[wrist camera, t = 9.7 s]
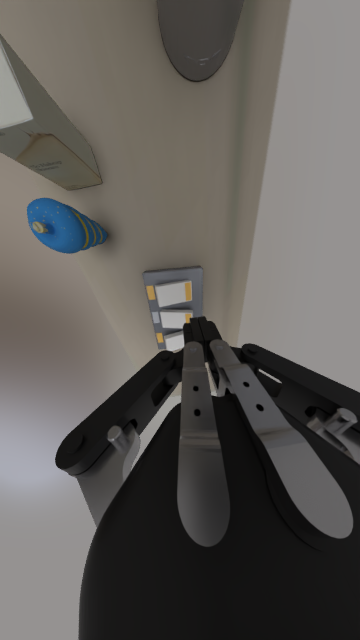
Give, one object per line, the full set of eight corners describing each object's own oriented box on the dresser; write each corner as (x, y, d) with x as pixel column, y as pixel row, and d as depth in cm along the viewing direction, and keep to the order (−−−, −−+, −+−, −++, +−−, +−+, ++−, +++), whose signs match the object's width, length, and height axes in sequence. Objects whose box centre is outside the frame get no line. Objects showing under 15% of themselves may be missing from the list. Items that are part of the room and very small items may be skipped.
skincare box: (68, 191, 22) (-34, 139, 11) (51, 151, 19) (-97, 38, 9) (104, 183, 21) (34, 121, 11) (90, 142, 19) (-14, 13, 9)
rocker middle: (162, 309, 29) (159, 312, 28) (192, 309, 28) (191, 313, 26) (164, 324, 31) (162, 327, 30) (193, 325, 30) (192, 329, 28)
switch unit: (145, 271, 28) (141, 274, 25) (200, 265, 28) (203, 268, 25) (159, 342, 38) (158, 351, 35) (200, 338, 38) (202, 347, 35)
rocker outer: (163, 336, 31) (165, 339, 29) (190, 328, 32) (193, 331, 31) (166, 348, 33) (167, 352, 31) (191, 340, 34) (194, 344, 33)
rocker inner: (154, 285, 25) (156, 287, 23) (188, 279, 26) (191, 281, 25) (158, 304, 27) (159, 307, 25) (189, 298, 28) (192, 300, 27)
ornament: (112, 215, 23) (32, 175, 10) (124, 247, 26) (73, 247, 13) (86, 223, 24) (-23, 195, 11) (101, 253, 26) (27, 260, 13)
